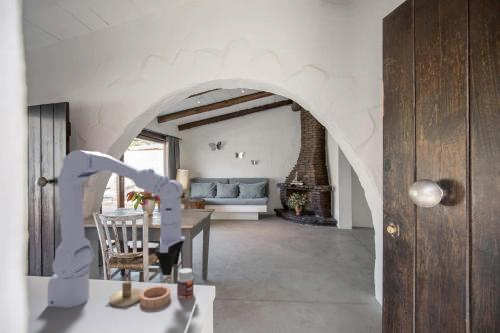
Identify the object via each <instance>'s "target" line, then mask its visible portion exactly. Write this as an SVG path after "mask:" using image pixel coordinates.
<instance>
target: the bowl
mask: <svg viewBox="0 0 500 333" xmlns="http://www.w3.org/2000/svg"><path fill="white" fill-rule="evenodd" d="M152 296H153V297H152ZM154 296H157V297H154ZM170 300H171V289H170V288H169V287H167V286H165V285H154V286H150V287H147V288H145V289H143V290H142V292H141V293H140V301H139V304H140V306H141V307H143V308H145V309H154V308H155V309H157V308H159V307H164V306H165V305H166V304H168V303H169V302H170Z"/></svg>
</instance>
